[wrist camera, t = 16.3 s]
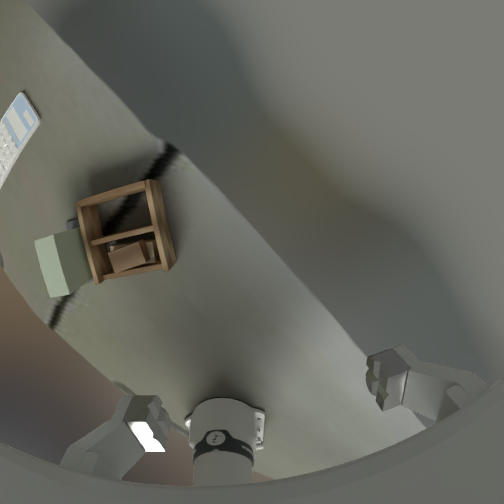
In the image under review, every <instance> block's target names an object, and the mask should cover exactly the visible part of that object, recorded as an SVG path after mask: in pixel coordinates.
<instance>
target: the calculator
mask: <svg viewBox="0 0 504 504" xmlns="http://www.w3.org/2000/svg"><path fill="white" fill-rule="evenodd" d="M40 121H41V119H40V117H39V115H38V113H37V112H36V110H35V109H34V107H33V106H32V104H31V103H30V101H29V99H28V98H27V96H26V95H25V93H23V92H20V93H19V94H18V95H17V97H16V98H15V100H14V101H13V102H12V104H11V105H10V107H9V108H8V110H7V112H6V113H5V115H4V116H3V118H2V120H1V121H0V189H1V187H2V185H3V183H4V181H5V179H6V177H7V176H8V174H9V172H10V170H11V168H12V167H13V165H14V163H15V161H16V160H17V158H18V156H19V155H20V153H21V151H22V150H23V148H24V147H25V145H26V143H27V142H28V140H29V139H30V137H31V136H32V134H33V133H34V132H35V130H36V129H37V127H38V126H39V124H40ZM3 147H4V148H3Z"/></svg>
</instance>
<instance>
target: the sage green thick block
mask: <svg viewBox="0 0 504 504" xmlns="http://www.w3.org/2000/svg"><path fill="white" fill-rule="evenodd" d="M34 242H35V247H36V251H37V255H38V259H39V262H40V266H41V270H42V273H43V276H44V280H45V283H46V286H47V289H48V292H49V295H50V298H51V297H57V296H63V295H68V294H71V293H72V292H74V291H75V290H77V289H78V288H80V287H81V286H82V285H84V284H85V283H87V282H88V281H90V280H91V279H93V275H92V271H91V268H90V264H89V261H88V257H87V253H86V249H85V245H84V241H83V237H82V233H81V228H80V227H79V228H75V229H71V230H68V231H64V232H61V233H57V234H54V235H51V236H48V237H45V238H42V239H39V240H36V241H34Z"/></svg>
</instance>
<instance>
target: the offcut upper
mask: <svg viewBox="0 0 504 504" xmlns="http://www.w3.org/2000/svg"><path fill="white" fill-rule="evenodd" d="M108 256H109V259H110V261H111V264H112V267H113V269H114V272H115V273H118V272H121V271H124V270H126V269H129V268H132V267H135V266H138V265H141V264H144V263H146V262H148V261H149V260H150V256H149V254H148V251H147V248H146V245H145V242H144V239H142V240H139V241H136V242H134V243H131V244H128V245H126V246H123V247H120V248H118V249H115V250H113V251H111V252H109V253H108Z"/></svg>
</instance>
